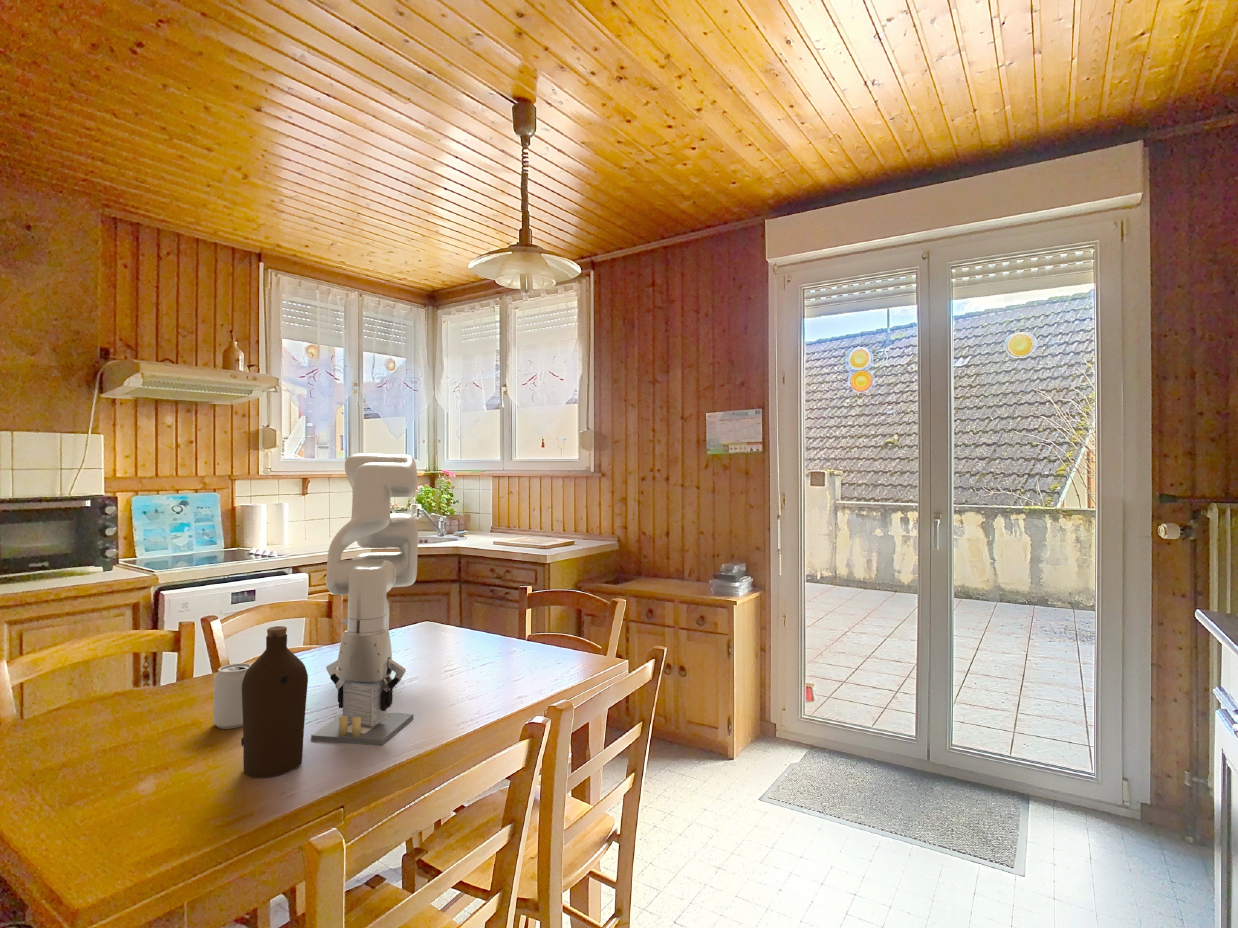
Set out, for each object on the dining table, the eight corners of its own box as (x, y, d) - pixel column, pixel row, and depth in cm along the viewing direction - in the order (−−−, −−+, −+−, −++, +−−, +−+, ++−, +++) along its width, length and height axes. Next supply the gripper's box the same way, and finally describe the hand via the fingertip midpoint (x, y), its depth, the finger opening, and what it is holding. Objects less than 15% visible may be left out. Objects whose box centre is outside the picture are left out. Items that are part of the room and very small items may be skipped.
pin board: (310, 740, 128) (311, 717, 128) (348, 714, 142) (349, 693, 142) (382, 744, 126) (382, 722, 126) (413, 718, 140) (413, 697, 140)
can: (262, 719, 138) (263, 663, 139) (231, 732, 131) (232, 673, 131) (236, 714, 141) (237, 659, 141) (204, 727, 134) (205, 669, 134)
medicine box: (386, 719, 135) (388, 678, 135) (371, 727, 131) (372, 684, 131) (357, 713, 138) (358, 673, 138) (341, 721, 134) (342, 679, 134)
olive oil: (318, 757, 120) (322, 623, 121) (274, 783, 110) (278, 637, 110) (272, 750, 123) (275, 619, 124) (224, 774, 113) (228, 632, 113)
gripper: (317, 626, 132) (315, 711, 132) (398, 630, 130) (396, 716, 130) (337, 618, 139) (335, 698, 139) (414, 622, 137) (412, 703, 137)
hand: (364, 706), depth 134 cm, fingers closed on medicine box, 8 cm apart
